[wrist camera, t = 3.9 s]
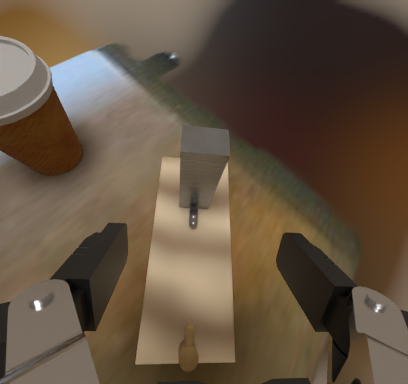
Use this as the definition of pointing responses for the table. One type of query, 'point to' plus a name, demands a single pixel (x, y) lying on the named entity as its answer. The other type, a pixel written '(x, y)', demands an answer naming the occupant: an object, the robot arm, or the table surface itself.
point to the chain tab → (201, 167)
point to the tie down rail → (188, 280)
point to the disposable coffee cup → (33, 113)
